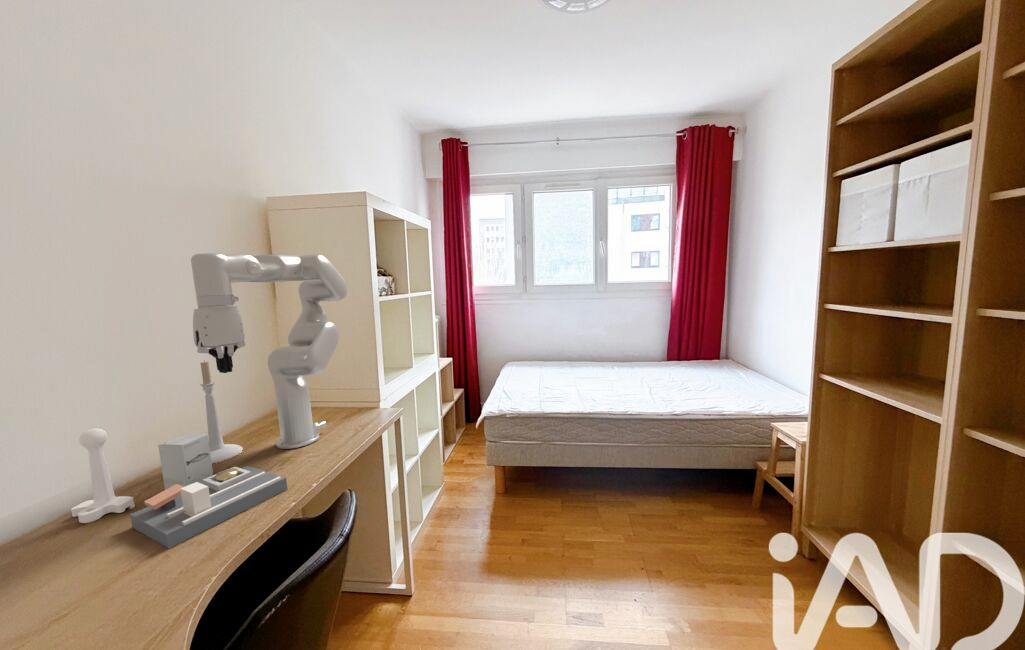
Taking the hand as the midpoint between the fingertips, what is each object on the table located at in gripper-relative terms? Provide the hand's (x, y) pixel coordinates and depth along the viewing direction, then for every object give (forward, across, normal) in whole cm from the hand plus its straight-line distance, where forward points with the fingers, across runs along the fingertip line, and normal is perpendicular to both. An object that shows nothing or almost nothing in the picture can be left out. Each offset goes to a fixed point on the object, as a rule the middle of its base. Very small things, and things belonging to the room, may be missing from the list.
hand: (225, 371), depth 103 cm
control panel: (+29, +11, +11) cm, 33 cm away
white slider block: (+25, +16, +15) cm, 34 cm away
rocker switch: (+24, +18, +7) cm, 31 cm away
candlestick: (+29, -5, -22) cm, 37 cm away
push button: (+26, +6, +7) cm, 27 cm away
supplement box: (+29, +8, -8) cm, 31 cm away
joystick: (+29, +24, -12) cm, 40 cm away
